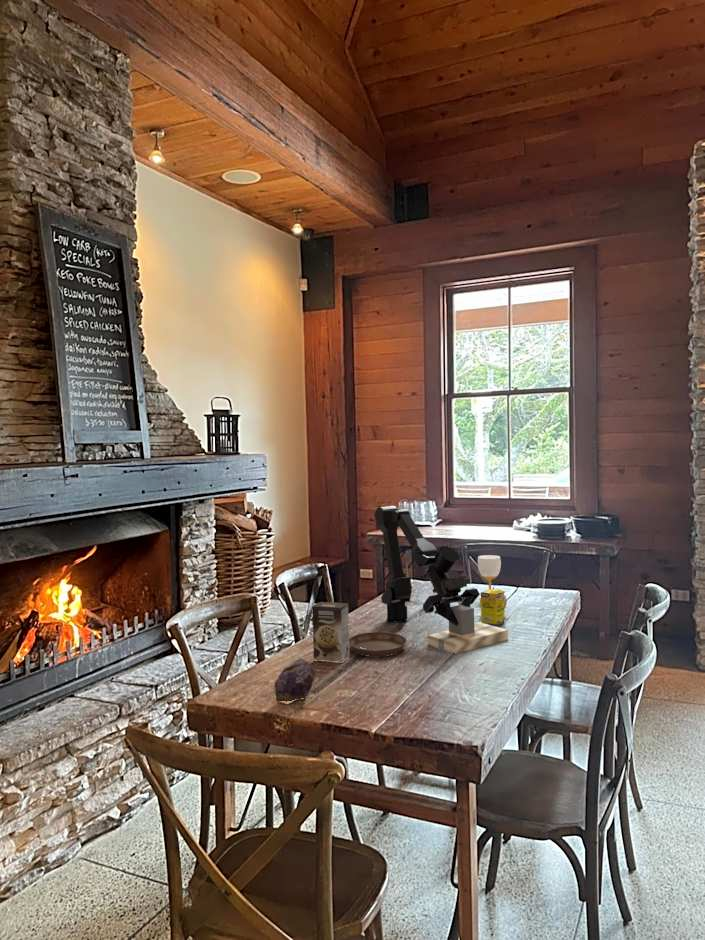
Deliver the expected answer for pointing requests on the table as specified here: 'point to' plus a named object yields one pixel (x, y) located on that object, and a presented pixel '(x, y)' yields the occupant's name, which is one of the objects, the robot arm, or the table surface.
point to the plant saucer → (377, 643)
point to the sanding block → (462, 621)
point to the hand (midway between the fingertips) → (464, 623)
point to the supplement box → (492, 607)
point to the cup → (489, 567)
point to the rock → (294, 681)
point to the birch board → (468, 638)
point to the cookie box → (330, 631)
